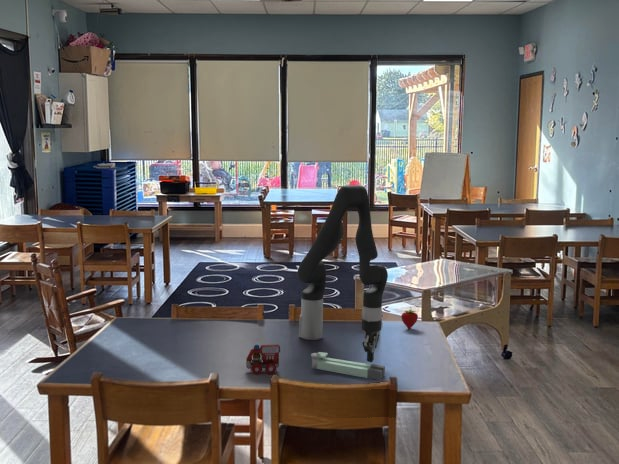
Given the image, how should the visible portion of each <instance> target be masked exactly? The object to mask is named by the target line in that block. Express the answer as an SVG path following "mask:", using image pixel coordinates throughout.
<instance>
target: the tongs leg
mask: <svg viewBox="0 0 619 464" xmlns="http://www.w3.org/2000/svg"><path fill="white" fill-rule="evenodd" d="M311 368H312V369H313V370H321V371H326V372H332V373H337V374H338V373H339V374H344V375H348V376H354V377H360V378H364V379H365V378H366V379H370V380H377V381H381V380H382V379H383V376H382V370H379V369H373V368H364V367H359V366H353V365H347V364H342V363H336V362H330V361H325V360H323V359H321V358H312V357H311Z"/></svg>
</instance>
